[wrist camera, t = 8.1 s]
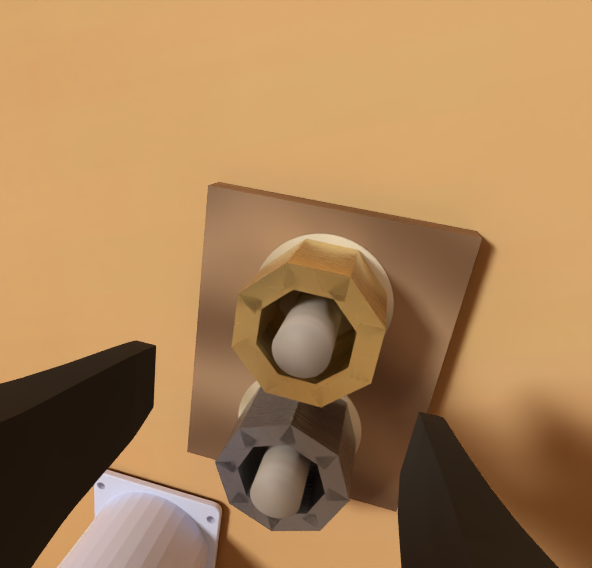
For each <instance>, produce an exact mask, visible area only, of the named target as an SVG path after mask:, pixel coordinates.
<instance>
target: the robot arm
mask: <svg viewBox="0 0 592 568" xmlns="http://www.w3.org/2000/svg"><path fill="white" fill-rule="evenodd" d="M155 359H156V345H152V344H148V343H144V342H140V341H132V342H128V343H125V344H122V345H119V346H116V347H113V348H110V349H107V350H104V351H101V352H99V353H96V354H93V355H90V356H87V357H84V358H82V359H79V360H76V361H73V362H70V363H67V364H64V365H61V366H58V367H55V368H52V369H49V370H45V371H42V372H39V373H36V374H33V375H30V376H26V377H23V378H20V379H16V380H13V381H9V382H5V383H1V384H0V568H31V567H32V566H33V564H34V563H35V561H36V560H37V558H38V557H39V555H40V554H41V553H42V551H43V550H44V548H45V547H46V545H47V544H48V543H49V541H50V540H51V538H52V537H53V535H54V534H55V533H56V531H57V530H58V528H59V527H60V526H61V524H62V523H63V521H64V520H65V519H66V518H67V516H68V515H69V514H70V512H71V511H72V510H73V509H74V507H75V506H76V505H77V504H78V503H79V501H80V500H81V499H82V498H83V497H84V496H85V494H86V493H87V492H88V491H89V490H90V489H91V487H92V486H93V485H94V500H95V519H94V520H93V522H92V523H91V524H90V525H89V527H88V528H87V529H86V531H85V532H84V533H83V534H82V536H81V537H80V538H79V540H78V541H77V542H76V544H75V545H74V546H73V547H72V549H71V550H70V551H69V553H68V554H67V555H66V557H65V558H64V559H63V560H62V562H61V563H60V564H59V566H58V567H57V568H215V565H216V557H217V549H218V540H219V532H220V524H221V516H222V508H221V506H220V505H219V504H218V503H216V502H213V501H210V500H207V499H203V498H200V497H197V496H193V495H190V494H187V493H183V492H180V491H177V490H173V489H170V488H167V487H163V486H160V485H157V484H154V483H150V482H147V481H144V480H140V479H137V478H134V477H130V476H127V475H124V474H120V473H117V472H114V471H110V470H107V469H108V468H109V466H110V465H111V464H112V463H113V462H114V461H115V459H116V458H117V457H118V456H119V455H120V453H121V452H122V451H123V450H124V449H125V448H126V446H127V445H128V444H129V443H130V442H131V440H132V439H133V438H134V436H135V435H136V433H137V432H138V430H139V429H140V427H141V426H142V425H143V423H144V421H145V420H146V418H147V417H148V415H149V413H150V412H151V410H152V408H153V405H154V382H155ZM211 516H212V517H211ZM213 517H214V518H213ZM398 524H399V539H400V553H401V567H402V568H558V567H557V566H556V565H555V563H554V562H553V561H552V560H551V559H550V558H549V557H548V556H547V555H546V554H545V553H544V552H543V551H542V549H541V548H540V547H539V546H538V545H537V544H536V543H535V542H534V541H533V539H532V538H531V537H530V536H529V535H528V534H527V533H526V532H525V530H524V529H523V528H522V527H521V526H520V525H519V523H518V522H517V521H516V520H515V519H514V517H513V516H512V515H511V514H510V512H509V511H508V510H507V508H506V507H505V506H504V505H503V503H502V502H501V501H500V500H499V498H498V497H497V496H496V494H495V493H494V492H493V490H492V489H491V488H490V486H489V485H488V484H487V482H486V481H485V479H484V478H483V477H482V475H481V474H480V472H479V471H478V470H477V468H476V467H475V465H474V464H473V462H472V461H471V459H470V458H469V456H468V455H467V453H466V452H465V450H464V449H463V447H462V446H461V444H460V443H459V441H458V439H457V438H456V436H455V435H454V433H453V432H452V430H451V429H450V427H449V425H448V424H447V422H446V421H445V419H444V418H443V417H439V416H435V415H431V414H427V413H423V412H419V413H418V416H417V419H416V423H415V426H414V429H413V432H412V436H411V439H410V442H409V445H408V449H407V452H406V455H405V459H404V462H403V465H402V468H401V472H400V478H399V496H398Z"/></svg>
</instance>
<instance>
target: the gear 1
mask: <svg viewBox="0 0 592 568" xmlns="http://www.w3.org/2000/svg"><path fill="white" fill-rule="evenodd" d="M292 290H297V291H301V292H305V293H310V294H314V295H318V296H322V297H326V298H331V299H334V300H335V302H336V303H337V304H338V306H339V307H340V309H341V310H342V312H343V313H344V315H345V316H346V318H347V319H348V320H349V322H350V323H351V325H352V326H353V329H351V330H349V331H347V332H345V333H343V334H341V335H340V336H338V337H336V341H335V345H334V348H333V352H332V356H331V359H330V362H329V365H328V366H327V368H326V369H325V370H324V371H323V372H322V373H321V374H319V375H317V376H315V377H311V378H298V377H294V376H292V375H289V374H288V373H286V372H285V371H283V370H282V369H281V368H280V367H279V366H278V365H277V363H276V361H275V359H274V357H273V354H272V343H273V340H274V337H275V336H276V334H277V332H278V331H279V329H280V327H281V325H282V324H283V322H284V320H285V318H286V316H285V315H284V314H283V312H282V311H281V309H280V308H279V307H280V301H281V297H282V296H284V295H285V294H287V293H289V292H290V291H292ZM386 311H387V292H386V291H385V289H384V288H383V286H382V285H381V283H380V282H379V280H378V279H377V277H376V276H375V274H374V273H373V271H372V270H371V268H370V267H369V265H368V264H367V262H366V261H365V259H364V258H363V256H362V255H361V253H360V251H359V250H357V249H352V248H347V247H343V246H338V245H334V244H329V243H325V242H320V241H316V240H311V239H305V240H303V241H302V242H300V243H299V244H297V245H296V246H294V247H293V248H291V249H290V250H288V251H286V252H285V253H283V254H282V255H280V256H279V257H277V258H276V259H274V260H273V261H271V262H270V263H268V264H267V265H265V266H264V267H263V268H262V269H261V270H260V271H259V272H258V273H257V274H256V276H255V277H254V278H253V279H252V280H251V281H250V282H249V283H248V284H247V285H246V286H245V287H244V288H243V289H242V290H241V291H240V292H239V293H238V299H237V307H236V315H235V322H234V330H233V338H232V346H231V347H232V349H233V350H234V351H235V353H236V354H237V355H238V357H239V358H240V359H241V361H242V362H243V363H244V365H245V366H246V367H247V369H248V370H249V371H250V373H251V374H252V375H253V377H254V378H255V379H256V381H257V382H258V383H259V385H260V386H261V387H262V389H263V390H264V391H265V392H266V393H270V394H274V395H277V396H281V397H285V398H288V399H292V400H296V401H299V402H303V403H307V404H310V405H314V406H318V407H323V406H325V405H327V404H329V403H331V402H333V401H335V400H337V399H339V398H342V397H344V396H346V395H348V394H350V393H352V392H354V391H356V390H358V389H360V388H363V387H365V386H367V385H369V384H371V382H372V378H373V375H374V371H375V367H376V364H377V360H378V356H379V353H380V349H381V345H382V342H383V338H384V334H385V330H386Z"/></svg>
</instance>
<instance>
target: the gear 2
mask: <svg viewBox="0 0 592 568" xmlns="http://www.w3.org/2000/svg"><path fill="white" fill-rule="evenodd" d="M275 445H288V446H290V447H291V448H293V449H294V450H296V451H297V452H299V453H300V454H302V455H303V456H305V457H307V458H308V459H310V460H311V464H310V468H309V472H308V476H307V480H306V484H305V488H304V492H303V496H302V500H301V504H300V508H299V510H298V511H297V513H295V514H294V515H293V516H291V517H288V518H282V519H281V518H273V517H270V516H267V515H265V514H264V513H262V512H261V511H259V510H258V509H257V508H256V507H255V505H254V504H253V502H252V500H251V497H250V490H251V487H252V484H253V482H254V479H255V477H256V474H257V472H258V469H259V467H260V464H261V462H262V459H263V457H264V454H265V452H266V449H267V447H268V446H275ZM355 447H356V439H355V435H354V431H353V426H352V422H351V418H350V413H349V409H348V405H347V402H345V401H344V400H342V399H341V398H339V399H337V400H335V401H333V402H331V403H329V404H327V405H325V406H323V407H318V406H314V405H310V404H307V403H303V402H299V401H296V400H292V399H288V398H285V397H281V396H277V395H274V394H270V393H266V392H265V391H264V390H263V389H262V387H261V386H260V387H259V388H258V390H257V391H256V393H255V394H254V395H253V397H252V398H251V400H250V401H249V403H248V404H247V405H246V407H245V408H244V410H243V411H242V413H241V415H240V417H239V418H238V420H237V422H236V424H235V426H234V428H233V430H232V431H231V433H230V435H229V437H228V439H227V441H226V443H225V444H224V446H223V448H222V450H221V452H220V454H219V456H218V457H217V459H216V461H215V463H216V466H217V469H218V472H219V475H220V478H221V481H222V484H223V486H224V489H225V492H226V495H227V498H228V501H229V503H230V504H231V505H233V506H234V507H236V508H237V509H239V510H240V511H242V512H243V513H245V514H246V515H248V516H249V517H251V518H253V519H254V520H256V521H257V522H259V523H260V524H262V525H263V526H265V527H266V528H268V529H269V530H271V531H320V530H321V529H322V528H323V527H324V526H325V525H326V524H327V523H328V522H329V521H330V520H331V519H332V518H333V517H334V516H335V515H336V514H337V513H338V512H339V511H340V510H341V508H342V507H343V506H344V505H345V504H346V503H347V502H348V501H349V498H350V489H351V481H352V473H353V464H354V456H355Z"/></svg>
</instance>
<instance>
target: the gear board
mask: <svg viewBox="0 0 592 568" xmlns="http://www.w3.org/2000/svg"><path fill="white" fill-rule="evenodd" d="M305 239H311V240H316V241H320V242H325V243H329V244H334V245H338V246H343V247H347V248H352V249H357V250H359V251H360V253H361V255H362V256H363V258H364V259H365V261H366V262H367V264H368V265H369V267H370V268H371V270H372V271H373V273H374V274H375V276H376V277H377V279H378V280H379V282H380V283H381V285H382V286H383V288H384V289H385V291H386V292H387V311H386V330H385V334H384V338H383V342H382V345H381V349H380V353H379V356H378V360H377V364H376V367H375V371H374V375H373V378H372V382H371V384H369V385H367V386H365V387H363V388H360V389H358V390H356V391H354V392H352V393H350V394H348V395H346V396H344V397H342V398H341V399H342V400H344V401H345V402H347V405H348V409H349V413H350V418H351V422H352V426H353V431H354V435H355V439H356V447H355V456H354V464H353V473H352V481H351V489H350V499H354V500H357V501H361V502H364V503H368V504H371V505H375V506H378V507H382V508H385V509H389V510H392V511H396V510H397V507H398V496H399V478H400V472H401V468H402V465H403V462H404V459H405V455H406V452H407V449H408V445H409V442H410V439H411V436H412V432H413V429H414V426H415V423H416V419H417V416H418V413H419V412H423V413H427V412H428V409H429V406H430V402H431V399H432V396H433V393H434V390H435V387H436V383H437V380H438V377H439V374H440V371H441V368H442V364H443V361H444V358H445V355H446V352H447V349H448V345H449V342H450V339H451V336H452V333H453V330H454V326H455V323H456V320H457V317H458V314H459V311H460V307H461V304H462V301H463V298H464V295H465V292H466V288H467V285H468V282H469V279H470V276H471V273H472V270H473V266H474V263H475V260H476V257H477V254H478V251H479V247H480V244H481V241H482V237H481V236H480V234H479V233H478V232H477V231H473V230H468V229H462V228H457V227H452V226H447V225H441V224H436V223H431V222H426V221H420V220H415V219H410V218H405V217H399V216H394V215H389V214H384V213H378V212H373V211H368V210H363V209H357V208H352V207H347V206H342V205H336V204H331V203H326V202H320V201H315V200H310V199H305V198H299V197H294V196H289V195H284V194H278V193H273V192H268V191H263V190H257V189H252V188H247V187H242V186H236V185H231V184H226V183H221V182H218V183H214V184H211V185H208V194H207V207H206V220H205V233H204V246H203V258H202V271H201V284H200V297H199V310H198V322H197V335H196V348H195V361H194V374H193V387H192V399H191V412H190V425H189V438H188V451H187V452H190V453H193V454H197V455H200V456H204V457H207V458H211V459H214V460H216V459H217V457H218V456H219V454H220V452H221V450H222V448H223V446H224V444H225V443H226V441H227V439H228V437H229V435H230V433H231V431H232V430H233V428H234V426H235V424H236V422H237V420H238V418H239V417H240V415H241V413H242V411H243V410H244V408H245V407H246V405H247V404H248V403H249V401H250V400H251V398H252V397H253V395H254V394H255V393H256V391H257V390H258V388H259V387H260V385H259V383H258V382H257V381H256V379H255V378H254V377H253V375H252V374H251V373H250V371H249V370H248V369H247V367H246V366H245V365H244V363H243V362H242V361H241V359H240V358H239V357H238V355H237V354H236V353H235V351H234V350H233V349H232V347H231V346H232V338H233V330H234V322H235V315H236V307H237V299H238V293H239V292H240V291H241V290H242V289H243V288H244V287H245V286H246V285H247V284H248V283H249V282H250V281H251V280H252V279H253V278H254V277H255V276H256V274H257V273H258V272H259V271H260V270H261V269H262V268H263V267H264V266H265V265H267V264H268V263H270V262H271V261H273V260H274V259H276V258H277V257H279V256H280V255H282V254H283V253H285V252H286V251H288V250H290V249H291V248H293V247H294V246H296V245H297V244H299V243H300V242H302V241H303V240H305ZM279 308H280V309H281V311H282V312H283V314H284V315H285V316H286V318H285V320H284V322H283V324H282V325H281V327H280V329H279V331H278V332H277V334H276V336H275V337H274V340H273V343H272V354H273V357H274V359H275V361H276V363H277V365H278V366H279V367H280V368H281V369H282V370H283V371H285V372H286V373H288V374H289V375H292V376H294V377H298V378H311V377H315V376H317V375H319V374H321V373H322V372H323V371H324V370H325V369H326V368H327V366H328V365H329V362H330V359H331V356H332V352H333V348H334V345H335V341H336V337H338V336H340V335H341V334H343V333H345V332H347V331H349V330H351V329H353V326H352V325H351V323H350V322H349V320H348V319H347V318H346V316H345V315H344V313H343V312H342V310H341V309H340V307H339V306H338V304H337V303H336V302H335V300H334V299H331V298H326V297H322V296H318V295H314V294H310V293H305V292H301V291H297V290H292V291H290V292H289V293H287V294H285V295H284V296H282V297H281V301H280V307H279ZM310 464H311V460H310V459H308V458H307V457H305V456H303V455H302V454H300V453H299V452H297V451H296V450H294V449H293V448H291V447H290V446H288V445H275V446H268V447H267V449H266V452H265V454H264V457H263V459H262V462H261V464H260V467H259V469H258V472H257V474H256V477H255V479H254V482H253V484H252V487H251V490H250V497H251V500H252V502H253V504H254V505H255V507H256V508H257V509H258V510H259V511H261V512H262V513H264V514H265V515H267V516H270V517H273V518H281V519H282V518H288V517H291V516H293V515H294V514H295V513H297V511H298V510H299V508H300V504H301V500H302V496H303V492H304V488H305V484H306V480H307V476H308V472H309V468H310Z"/></svg>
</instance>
